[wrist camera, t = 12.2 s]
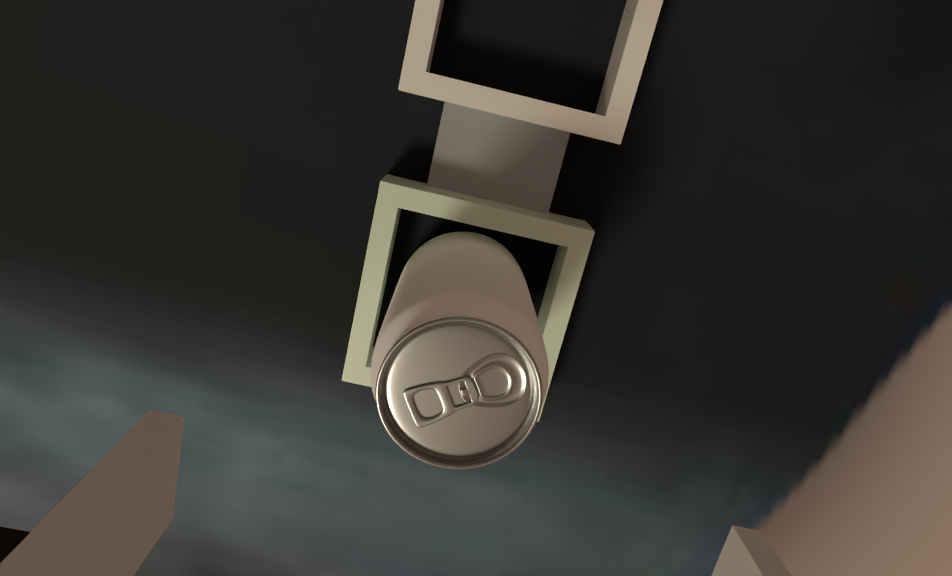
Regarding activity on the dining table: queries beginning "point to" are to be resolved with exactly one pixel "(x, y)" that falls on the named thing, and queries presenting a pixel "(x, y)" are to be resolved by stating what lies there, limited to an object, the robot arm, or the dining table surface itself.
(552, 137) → the socket panel
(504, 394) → the can
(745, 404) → the dining table surface
